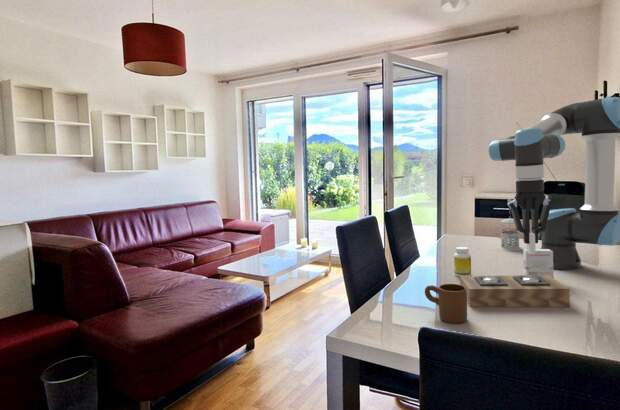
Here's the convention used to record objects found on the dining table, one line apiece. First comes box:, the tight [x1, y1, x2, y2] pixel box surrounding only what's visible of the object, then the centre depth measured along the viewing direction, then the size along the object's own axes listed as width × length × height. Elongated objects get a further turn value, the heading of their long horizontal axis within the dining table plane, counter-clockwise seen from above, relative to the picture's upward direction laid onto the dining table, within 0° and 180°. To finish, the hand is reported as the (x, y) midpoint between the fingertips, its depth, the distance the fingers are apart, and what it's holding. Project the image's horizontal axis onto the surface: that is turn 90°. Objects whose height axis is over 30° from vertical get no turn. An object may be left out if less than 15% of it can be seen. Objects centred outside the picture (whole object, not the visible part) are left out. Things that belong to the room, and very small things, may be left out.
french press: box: [495, 198, 522, 252], centre depth 185 cm, size 10×12×25 cm
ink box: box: [522, 248, 555, 279], centre depth 134 cm, size 9×5×12 cm, turn 71°
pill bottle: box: [453, 246, 472, 278], centre depth 148 cm, size 6×6×11 cm
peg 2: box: [523, 277, 539, 282], centre depth 119 cm, size 4×4×6 cm
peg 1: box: [483, 277, 498, 283], centre depth 121 cm, size 4×4×6 cm
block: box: [459, 274, 571, 308], centre depth 120 cm, size 28×14×6 cm, turn 79°
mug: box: [424, 283, 468, 325], centre depth 108 cm, size 12×8×9 cm, turn 51°
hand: (531, 253), depth 118 cm, fingers closed
